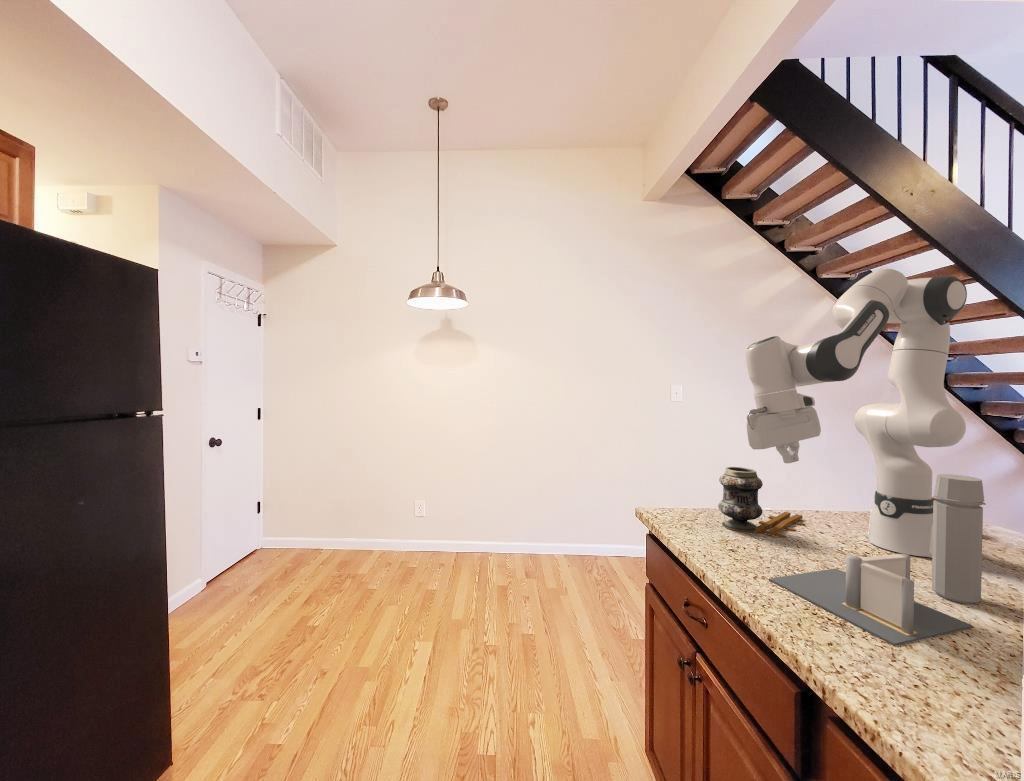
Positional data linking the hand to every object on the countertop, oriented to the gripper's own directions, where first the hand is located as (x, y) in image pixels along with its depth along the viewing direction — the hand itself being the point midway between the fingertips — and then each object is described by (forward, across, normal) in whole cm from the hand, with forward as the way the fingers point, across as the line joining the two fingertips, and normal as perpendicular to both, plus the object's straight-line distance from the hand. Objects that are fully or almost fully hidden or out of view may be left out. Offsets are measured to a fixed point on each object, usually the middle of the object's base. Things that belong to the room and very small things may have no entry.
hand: (791, 462), depth 101 cm
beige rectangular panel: (+28, 0, -13) cm, 31 cm away
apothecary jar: (+22, +12, +32) cm, 41 cm away
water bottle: (+32, +18, -15) cm, 39 cm away
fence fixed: (+28, -8, -16) cm, 33 cm away
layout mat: (+28, -3, -10) cm, 30 cm away
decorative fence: (+25, +25, +29) cm, 45 cm away
